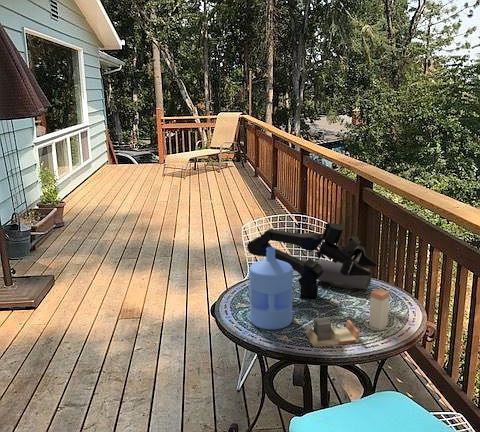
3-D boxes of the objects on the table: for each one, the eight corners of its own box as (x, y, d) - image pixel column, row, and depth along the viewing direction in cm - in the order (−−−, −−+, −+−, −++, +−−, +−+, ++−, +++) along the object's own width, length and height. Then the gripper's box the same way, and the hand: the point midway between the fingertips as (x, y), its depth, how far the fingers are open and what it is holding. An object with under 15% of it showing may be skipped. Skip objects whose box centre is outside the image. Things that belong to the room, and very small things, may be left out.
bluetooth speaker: (371, 287, 206) (372, 265, 204) (364, 295, 199) (365, 272, 196) (320, 276, 218) (321, 255, 215) (312, 284, 210) (312, 262, 208)
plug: (369, 325, 176) (371, 291, 172) (376, 320, 178) (378, 288, 175) (380, 329, 172) (382, 295, 169) (387, 325, 175) (389, 291, 171)
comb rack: (306, 335, 170) (306, 317, 168) (349, 330, 172) (349, 312, 170) (314, 347, 162) (314, 328, 160) (359, 342, 165) (359, 323, 163)
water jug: (250, 310, 189) (248, 241, 181) (291, 310, 188) (291, 240, 180) (249, 331, 174) (248, 256, 166) (294, 330, 173) (294, 256, 165)
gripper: (334, 241, 178) (375, 260, 172) (349, 227, 193) (387, 243, 188) (325, 267, 182) (364, 286, 177) (340, 251, 198) (376, 268, 192)
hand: (373, 270), depth 183 cm, fingers open, 9 cm apart
